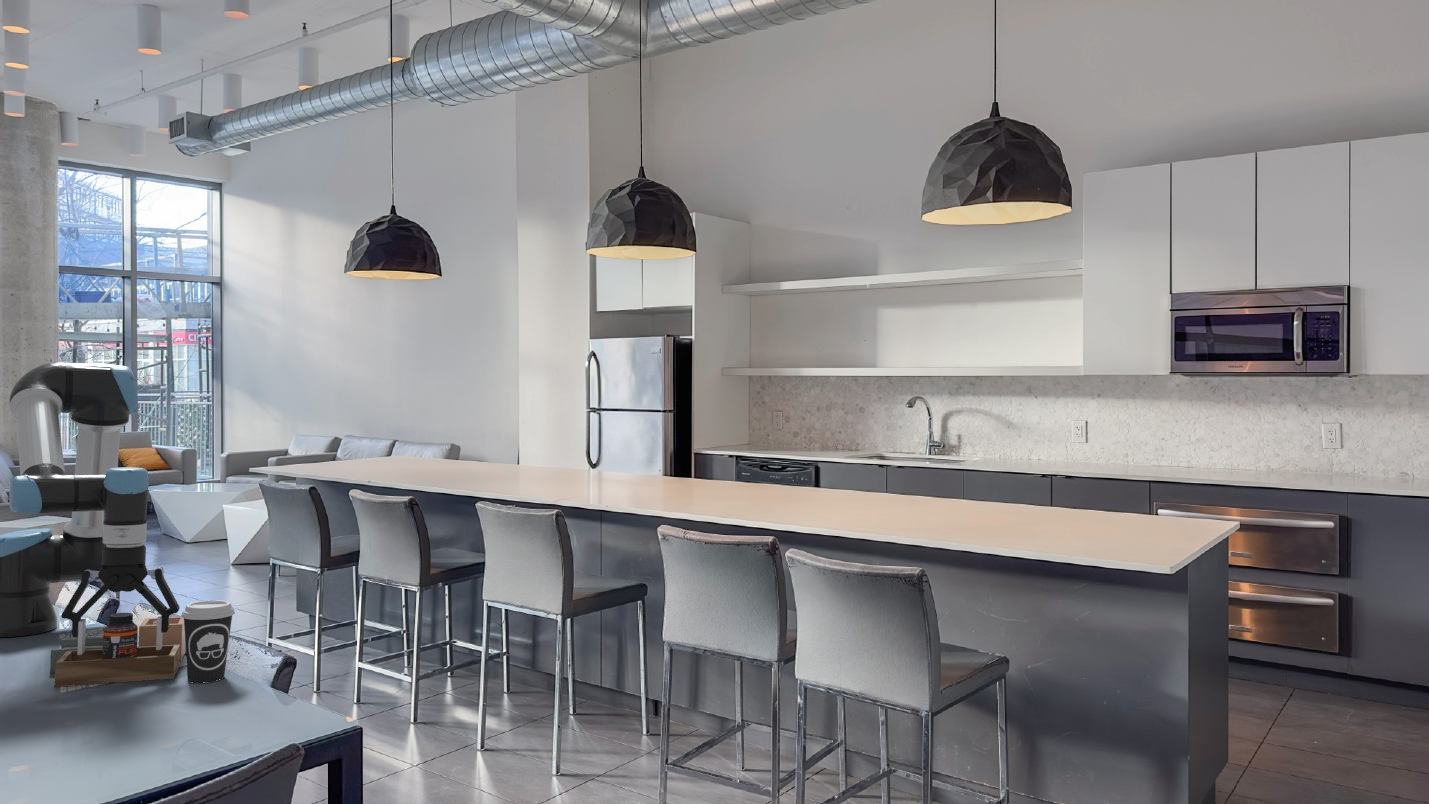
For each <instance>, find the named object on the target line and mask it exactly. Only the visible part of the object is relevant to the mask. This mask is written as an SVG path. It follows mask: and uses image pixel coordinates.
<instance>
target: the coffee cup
mask: <svg viewBox="0 0 1429 804" xmlns="http://www.w3.org/2000/svg"><path fill="white" fill-rule="evenodd" d="M235 614H236V611H235V609H234V607H233V606H232V603H231V601H229V600H222V599H221V600H219V599H211V600H210V599H209V600H199V601H193V602H189V603H187V604H186V606H185V608H184V609H183V610H182V613H181V616H180V617H182V618H184V628H185V643H186V651H185V657H186V658H185V659H186V673H187V674H186V675H187V682H188V683H190V682H193V683H192V684H204V683H203V682H211V683H214V682H213V681H216V680H219V679H222V678H223V677H224V678H225V675H226V674H225V673H226V665H227V657H228V651H229V641H230V635H231V626H232V620H233V616H234V615H235ZM224 678H223V679H224ZM223 679H222V680H223ZM219 681H220V680H219ZM216 682H217V681H216Z"/></svg>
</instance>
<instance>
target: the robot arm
mask: <svg viewBox="0 0 1429 804" xmlns="http://www.w3.org/2000/svg"><path fill="white" fill-rule="evenodd" d="M137 390H138V388H137V382H136V378H135V375H134V372H133V370H132V369H131V368H130V367H129V366H126V365H118V364H117V365H116V364H111V363H85V362H84V363H83V362H82V363H80V362H79V363H77V362H63V361H56V362H55V361H54V362H49V363H44V364H41V365H39V366H36V367H35V368H33V369H30V370H29V371H28V372H26V373H24V375H22V377H20V378H19V379H18V381H16V383H14V385H13V388H12V389H11V392H10V395H9V410H10V413H11V414H12V416H13V417H14V418H15V419H16V430H17V431H16V432H17V433H16V434H17V446H18V460H19V461H18V462H19V470H20V471H19V472H20V475H15V476H13V477H11V479H10V480H9V481H10V482H9V493H8V497H9V501H8V502H9V509H10V511H11V512H13V513H15V514H32V515H36V514H37V515H38V514H51V513H52V514H54V513H55V514H56V513H71V520H70V521H68V522H67V523H65V524H64V526H63V528H62V529H63V530H62V533H53V531H52V528H49V527H42V528H30V529H22V530H17V531H11V532H7V533H4V534H3V533H2V534H0V638H13V637H24V636H32V635H38V634H43V633H48V632H49V631H52V630H55V629H57V627H58V617H57V614H56V610H55V608H54V605H53V602H52V600H51V596H50V586H51V585H50V584H58V583H70V582H71V583H74V582H80V583H79V584H78V586H77V588H76V589H75V591H74V593H73V595H72V596H71V598H70V600H69V602H67V604H66V606H65V608H64V610H63V611H62V612H61V615H60V616H61V619H67V620H70V621H71V623H72V625H71V636H72V638H78V650H77V655H82V654H83V653H84V652H85V638H86V630H87V627H86V623H87V618H82V617H83V616H84V615H85V614H86V613H87V612H88V611H89V610H90V609H91V608H92V607H93V606H94V604H96V603H97V601H99V600H100V598H101V597H103V596H104V594H105V593H106V592H107V591H110V592H112V593H119V592H126V593H129V592H132V591H136V592H137V593H138V594H140V595H141V596H142V597H143V598H144V599H145V600H146V601H147V602H148V603H149V605H151V606H152V607H153V609H155V610H156V612H157V613H158V614H159V615H158V616H157V617H156V618H157V637H156V650H161V648H162V636H163V632H167V631H168V629H169V617H171V615H174V614H177V613H178V612H179V611H180V609H181V607H180V605H179V604H178V601H177V599H176V598H175V596H174V594H173V592H172V590H171V588H170V586H169V585H168V582H167V581H166V579H165V577H164V568H163V567H162V566H158V567H156V568H150V569H148V568H147V567H146V560H147V559H146V555H147V554H146V553H147V546H146V545H145V543H146V542H147V532H148V529H147V528H148V527H147V526H148V522H147V520H148V519H147V518H148V515H147V513H148V496H149V487H150V483H149V472H148V470H147V468H144V467H135V466H134V467H132V466H131V467H130V466H129V467H125V466H124V467H119V454H120V440H121V432H122V431H121V429H122V428H123V427H124V426H126V425H127V424H128V423H129V420H130V416H133V415H136V414H137V413H138V408H139V402H138V401H139V400H138V391H137ZM61 413H63V414H71V415H70V420H71V422H73V423H74V424H75V425H76V426H77V438H76V439H77V440H76V451H75V452H76V453H75V464H74V465H75V468H74V474H66V470H65V459H64V453H63V444H62V436H61V427H60V420H59V415H60V414H61ZM147 576H150V578H151V579H152V580H155V582H156V585H157V586H158V589H159V591H160V593H161V595H162V596H163V598H164V600H165V602H166V603H167V605H168V607H167V606H166V605H165V604H164V603H163V602H162V600H160V599H159V597H157V595H156V594H155V593H154V592H152V590H151V589H150V588H149V587H148V586H147V584H146V583H145V582H144V580H145V579H146V578H147ZM94 581H95V582H96V581H97V582H98V581H101V582H102V583H103V585H102V586H100V588H99V589H98V590H97V591H96V592H95V594H93V595H92V596H91V597H90V598H89V599H88V601H86V602H85V604H83V605H82V607H80V609H79V610H78V611H77V612H75V611H74V609H75V608H76V606H77V605H78V603H79V602H80V600H81V598H82V596H83V594H84V593H85V591H86V589H88V586H89V585H90V583H91V582H94Z"/></svg>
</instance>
